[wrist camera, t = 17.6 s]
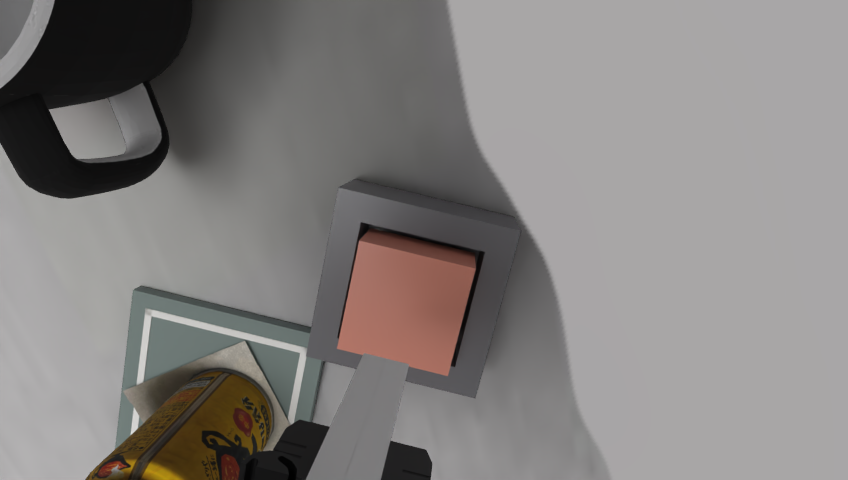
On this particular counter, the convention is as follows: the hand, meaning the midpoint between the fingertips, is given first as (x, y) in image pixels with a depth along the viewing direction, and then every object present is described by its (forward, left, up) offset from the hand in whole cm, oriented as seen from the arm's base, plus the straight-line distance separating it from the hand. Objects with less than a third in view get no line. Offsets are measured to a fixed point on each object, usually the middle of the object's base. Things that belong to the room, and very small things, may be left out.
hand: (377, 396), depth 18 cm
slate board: (+11, -10, -14) cm, 20 cm away
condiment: (+11, -10, -13) cm, 20 cm away
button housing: (0, 0, -14) cm, 14 cm away
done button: (0, 0, -11) cm, 11 cm away
